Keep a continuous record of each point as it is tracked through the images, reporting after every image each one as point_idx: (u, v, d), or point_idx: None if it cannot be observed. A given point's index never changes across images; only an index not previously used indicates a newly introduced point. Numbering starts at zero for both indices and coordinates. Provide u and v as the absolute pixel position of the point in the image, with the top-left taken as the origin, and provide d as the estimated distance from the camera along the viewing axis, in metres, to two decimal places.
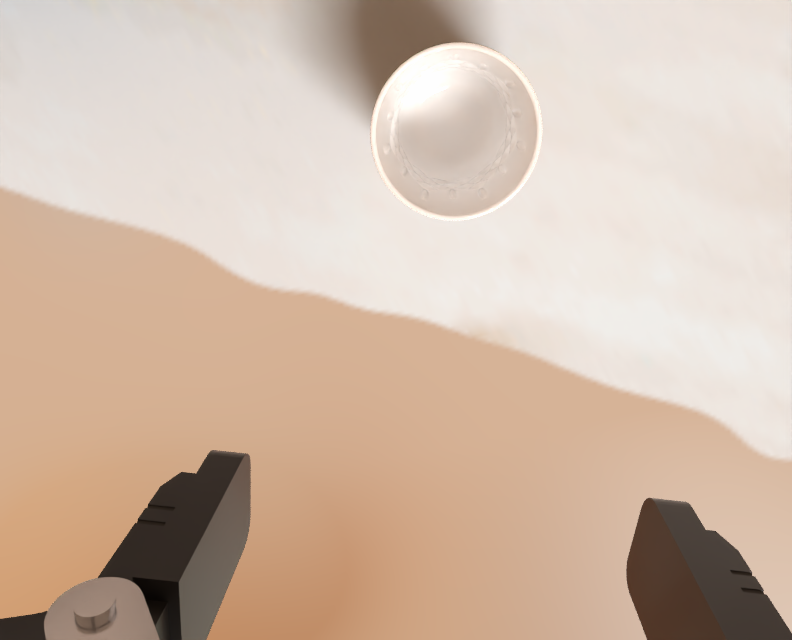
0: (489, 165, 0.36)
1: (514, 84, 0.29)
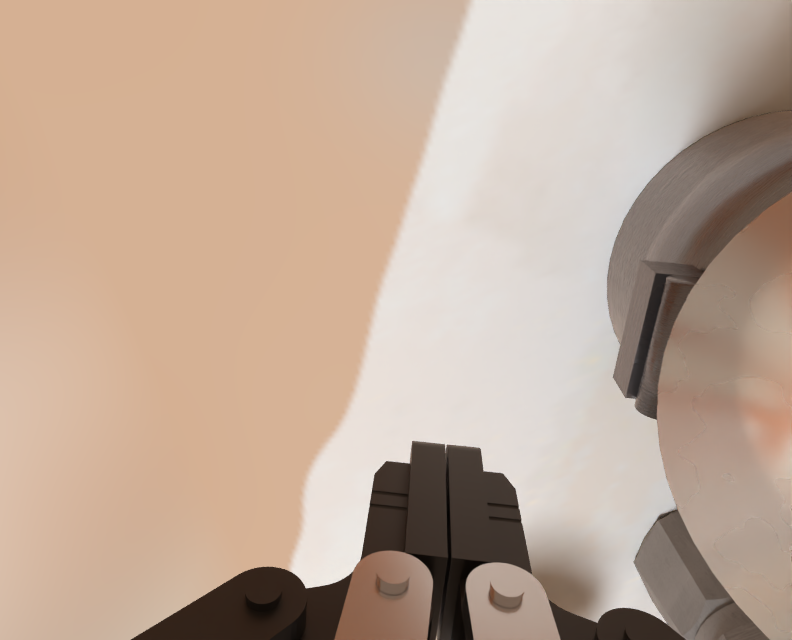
0: None
1: None
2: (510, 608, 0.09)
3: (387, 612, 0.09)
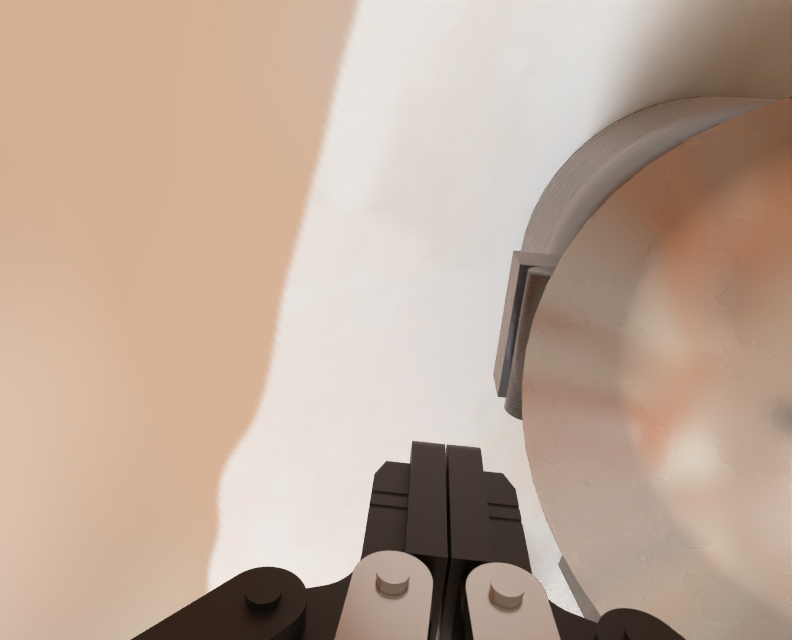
0: None
1: None
2: (510, 608, 0.09)
3: (388, 612, 0.09)
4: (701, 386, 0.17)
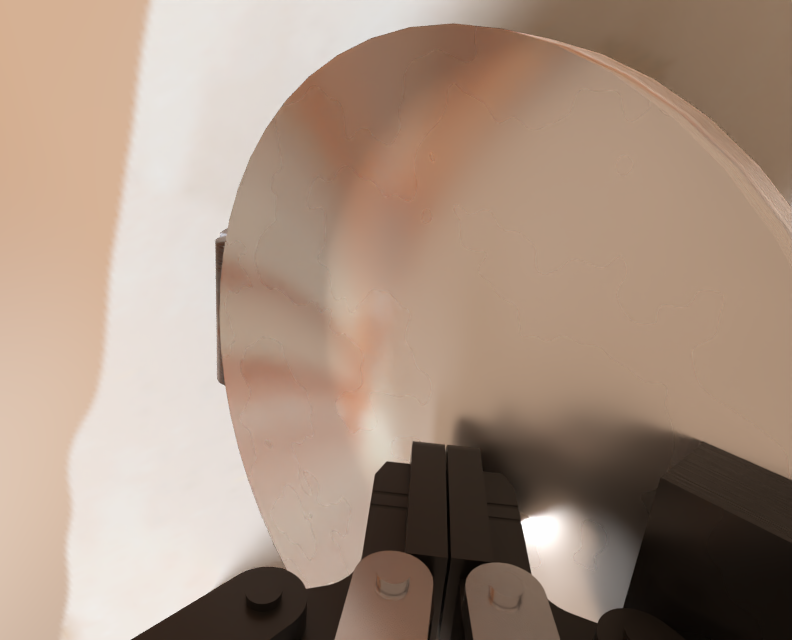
0: None
1: None
2: (509, 608, 0.09)
3: (387, 611, 0.09)
4: (319, 343, 0.17)
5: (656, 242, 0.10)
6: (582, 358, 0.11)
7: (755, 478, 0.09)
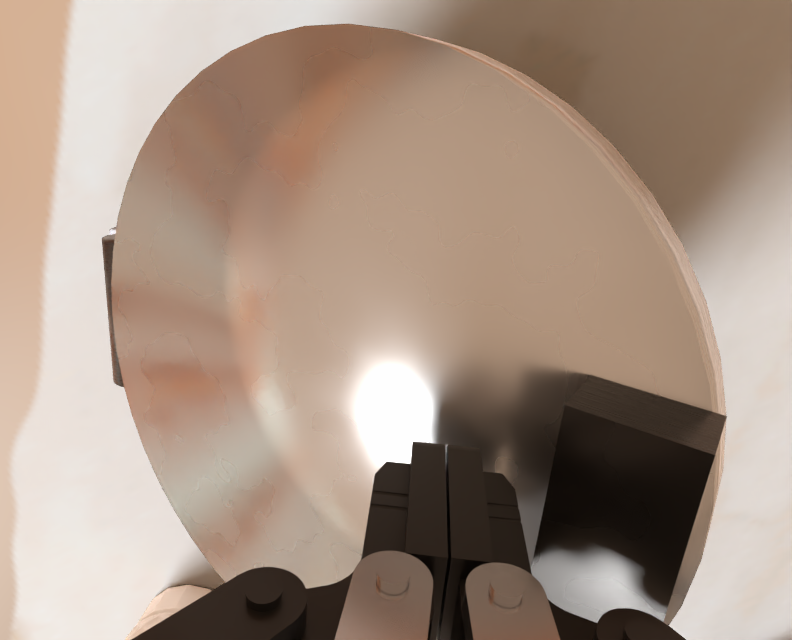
0: None
1: None
2: (510, 608, 0.09)
3: (388, 612, 0.09)
4: (229, 332, 0.17)
5: (542, 212, 0.12)
6: (486, 317, 0.13)
7: (633, 397, 0.11)
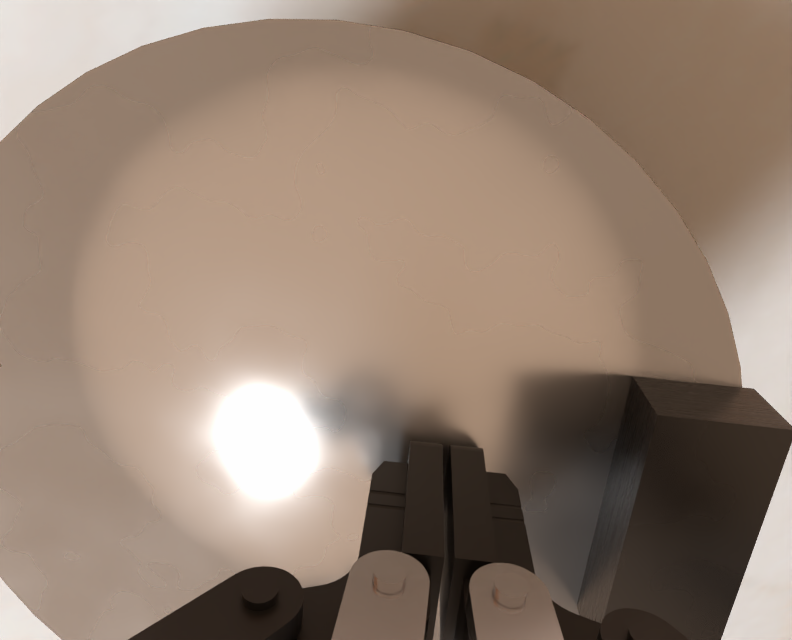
0: None
1: None
2: (514, 608, 0.09)
3: (384, 611, 0.09)
4: (157, 408, 0.14)
5: (584, 227, 0.12)
6: (521, 338, 0.12)
7: (685, 390, 0.12)
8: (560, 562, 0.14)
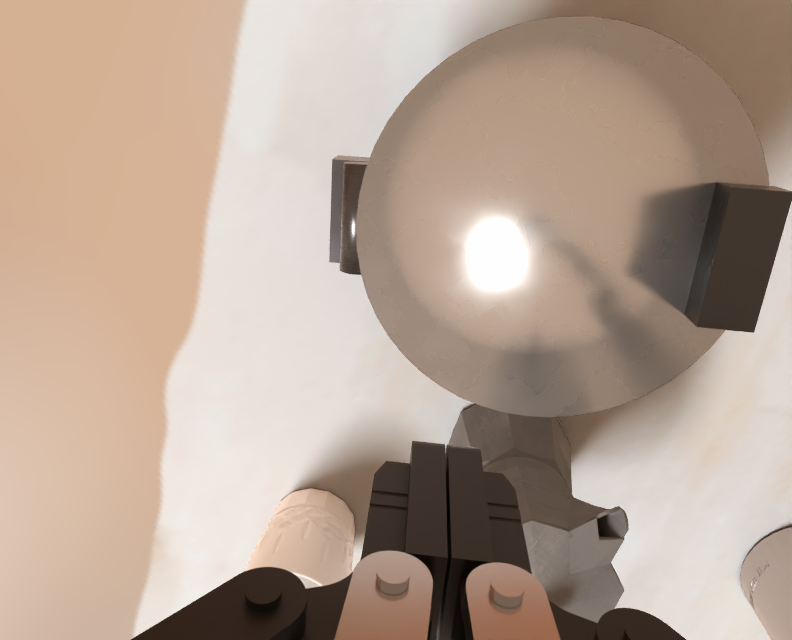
0: None
1: None
2: (510, 608, 0.09)
3: (387, 611, 0.09)
4: (477, 209, 0.28)
5: (696, 107, 0.26)
6: (663, 164, 0.26)
7: (742, 185, 0.26)
8: (676, 289, 0.28)
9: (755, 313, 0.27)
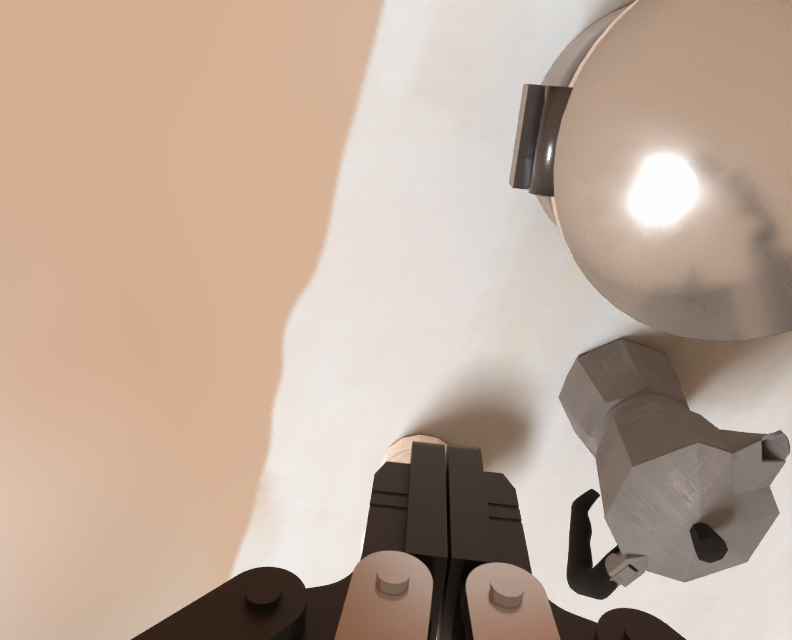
0: None
1: None
2: (510, 608, 0.09)
3: (387, 611, 0.09)
4: (678, 131, 0.29)
5: None
6: None
7: None
8: None
9: None
